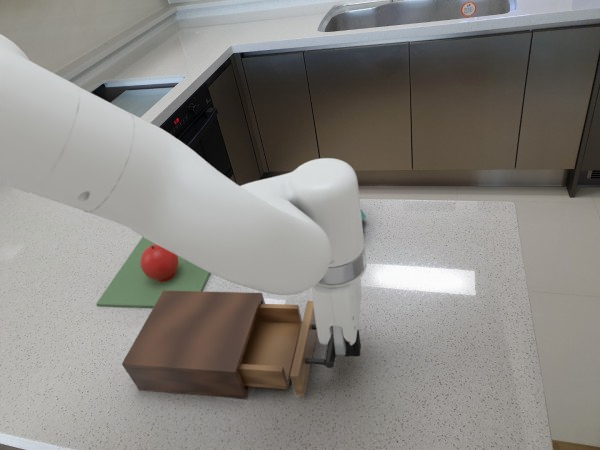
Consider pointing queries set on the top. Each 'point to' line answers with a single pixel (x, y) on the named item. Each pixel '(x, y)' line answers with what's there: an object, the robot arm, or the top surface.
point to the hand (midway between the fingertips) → (349, 351)
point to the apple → (158, 263)
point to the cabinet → (194, 343)
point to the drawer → (282, 348)
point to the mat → (149, 282)
